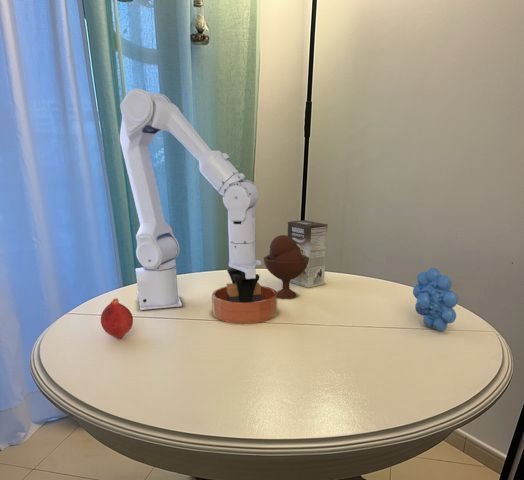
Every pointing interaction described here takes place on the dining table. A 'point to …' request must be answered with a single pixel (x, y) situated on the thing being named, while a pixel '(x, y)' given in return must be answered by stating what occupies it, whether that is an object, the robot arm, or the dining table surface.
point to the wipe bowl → (244, 307)
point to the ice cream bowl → (285, 263)
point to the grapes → (435, 299)
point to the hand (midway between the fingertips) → (243, 302)
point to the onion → (116, 319)
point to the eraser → (234, 296)
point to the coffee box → (310, 250)
